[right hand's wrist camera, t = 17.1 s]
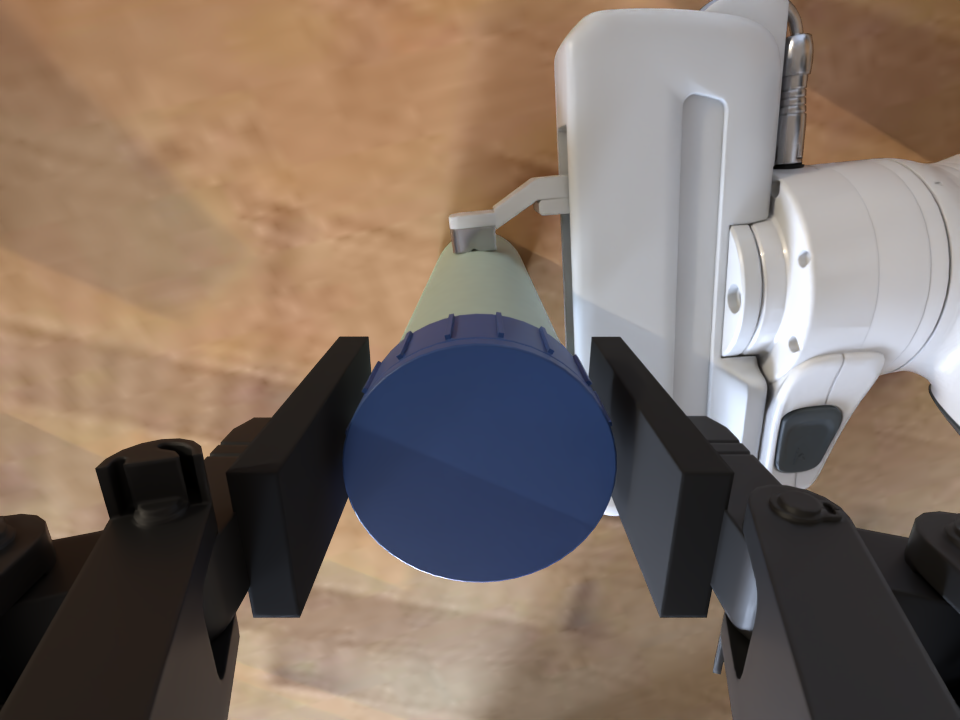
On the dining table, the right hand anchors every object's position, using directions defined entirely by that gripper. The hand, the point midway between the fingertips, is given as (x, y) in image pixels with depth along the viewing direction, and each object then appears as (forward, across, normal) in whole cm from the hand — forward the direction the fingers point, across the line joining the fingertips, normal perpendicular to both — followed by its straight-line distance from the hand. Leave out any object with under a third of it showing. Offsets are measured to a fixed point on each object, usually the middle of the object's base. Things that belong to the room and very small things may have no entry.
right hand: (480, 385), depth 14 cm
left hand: (+9, -1, 0) cm, 9 cm away
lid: (-4, 0, 0) cm, 4 cm away
